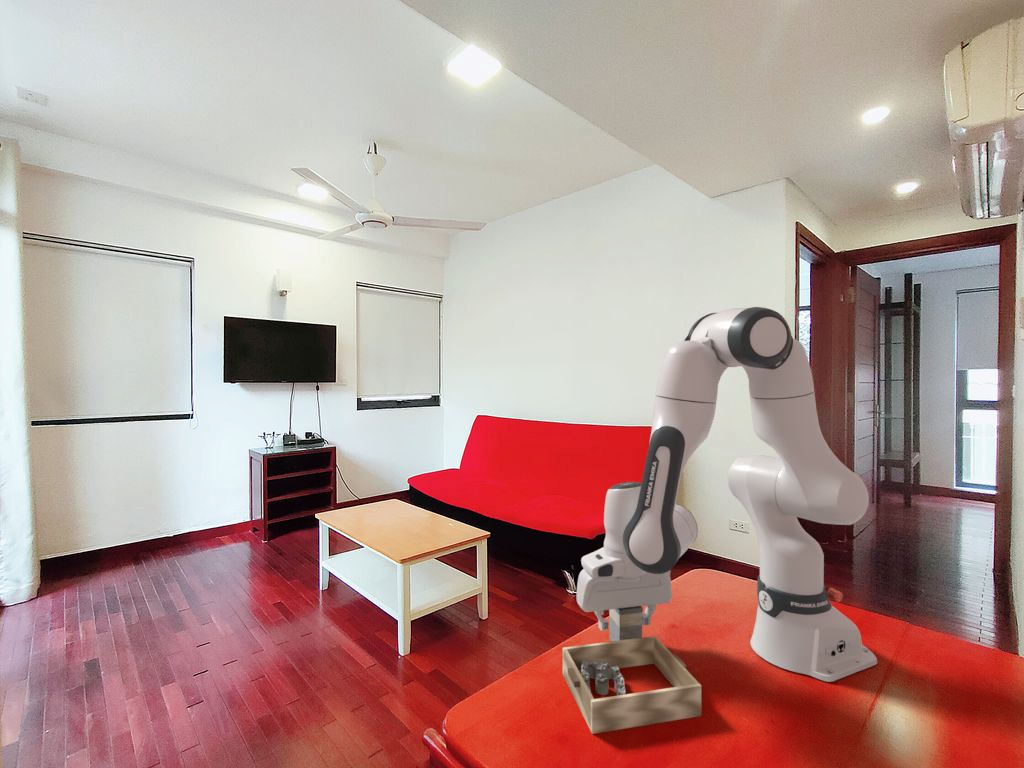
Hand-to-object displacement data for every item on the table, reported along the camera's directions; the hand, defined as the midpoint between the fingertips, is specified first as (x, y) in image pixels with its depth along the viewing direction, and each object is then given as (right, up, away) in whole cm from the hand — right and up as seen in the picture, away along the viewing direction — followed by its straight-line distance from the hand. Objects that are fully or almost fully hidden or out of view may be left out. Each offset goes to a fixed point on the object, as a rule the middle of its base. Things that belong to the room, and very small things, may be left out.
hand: (624, 626), depth 97 cm
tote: (-3, -4, -15) cm, 16 cm away
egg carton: (-8, -5, -16) cm, 18 cm away
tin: (0, -4, +1) cm, 4 cm away
